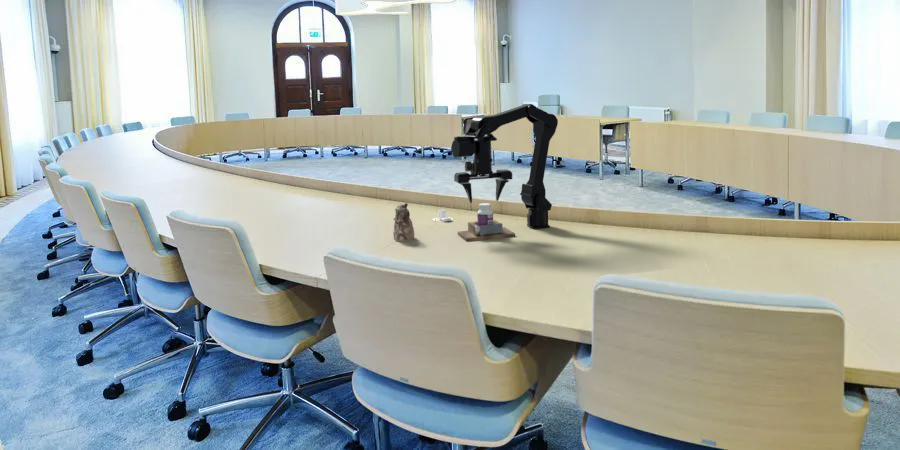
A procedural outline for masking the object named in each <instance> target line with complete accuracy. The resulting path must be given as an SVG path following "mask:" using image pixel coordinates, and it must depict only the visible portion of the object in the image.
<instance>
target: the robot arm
mask: <svg viewBox="0 0 900 450" xmlns="http://www.w3.org/2000/svg"><path fill="white" fill-rule="evenodd" d="M525 118H526V120H527V121H528V122H530V123H531V124H532V126H533V127H532V130H533V135H534V138H535V139H534V140H535V141H534V145H533V146H534V147H533V152H532V158H531V165H530V172H529V178H528V180H527V182H526V183H522V184H521V190H520V194H519V195H520V198H521V201H522V202H523V203H524V206H525V208H526V209H528V213H526V215H527V216H526V219H527V220H526V226H527V227H529V228H531V229H544V228H545V229H546V228H551V225H550V224H549V211H551V209H552V206H553V204H552V203H551V202H550V201H549V200H548V199H547V198H546V195H547V194H546V190H547V189H546V188H545V184H544V177H545V171H546V167H547V159H548V153H549V146H550V141H551V139H552V138H553V137H554V136H555V133H556V131H557V128H558V124H559V123H558V122H559V120H558V118H557V116H556V115H555V114H553V113H548V112H546V111H545V110H542V108H541V109H540V108H538V107H537V106H536V105H534V104H532V103H523V104H522V105H520V106H516V107H514V108H510V109H508V110H504V111H502V112H499V113H496V114H491V115H490V114H489V115H481V116H474V117H473V118H472V119H471V121H470V126H469V128H468V129H467V131H466V132H465V134H464V136H463V135H462V136H454V137H453V139H454V140H453V141H452V143H451V146H450V149H451V153H452V155H453V157H454V158H455V159H457V158H466V157H472V156H473V158H472V159H473V161H464V170H465V171H464V172H463V171H462V172H455V173H454V176H453V177H454V179H453V180H454V182H456V183H458V185H461V186H462V187H463V188H464V191H465V194H466V195H467V199H468V201H469V204H472V203H473V196H472V195H473V194H472V193H473V192H472V183H471V182H470V180H471V181H472V180H485V179H488V180H489V179H495V201H497V202H498V201H499V200H500V197H501V193H502V192H503V189H504V187H506V186H505V185H506V184H507V183H509V182H510V181H509V180H512V179H513V172H512V171H511V170H509V169H506V168H504V169H497V170H496V172H493V170H492V167H493V166H492V162H493V158H492V142H493V141H496V142H497V141H498V138H497V137H496V136H495V135H493V133H494V132H496V131H497V130H498V129H500V127H502V126H504V125H507V124H510V123H514V122H516V121H519V120H521V119H525ZM469 172H470V173H469Z"/></svg>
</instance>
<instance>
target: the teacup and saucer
mask: <svg viewBox="0 0 900 450" xmlns="http://www.w3.org/2000/svg"><path fill="white" fill-rule="evenodd" d="M437 213H438V217H435V218H432V220H433V221H432V222H435V219H436V222H437V223H447V222H450V221H453V220H454V218H453V217H452V216H451V217H450V216H449V217H447V210H446V209H438V210H437Z"/></svg>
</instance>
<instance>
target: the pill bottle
mask: <svg viewBox="0 0 900 450" xmlns="http://www.w3.org/2000/svg"><path fill="white" fill-rule="evenodd" d="M491 208H492V204H491V203H486V202H483V203H479V204H478V209H479V210H478V211H477V221H478V225H486V224H493V220H494V211H493V209H491Z"/></svg>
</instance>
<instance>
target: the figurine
mask: <svg viewBox="0 0 900 450" xmlns="http://www.w3.org/2000/svg"><path fill="white" fill-rule="evenodd" d="M408 205H409V204H408V203H407V202H405V203H404V204H402V203H400V204H398V205H397V207H395V209H394V210H395V217H394V218H393V221H394V225H393V232H392V233H393V240H395V242H410V241H413V240H414V239H415V228H414V225H413V221H412V219H411V218H410V211H409V209H408Z"/></svg>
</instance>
